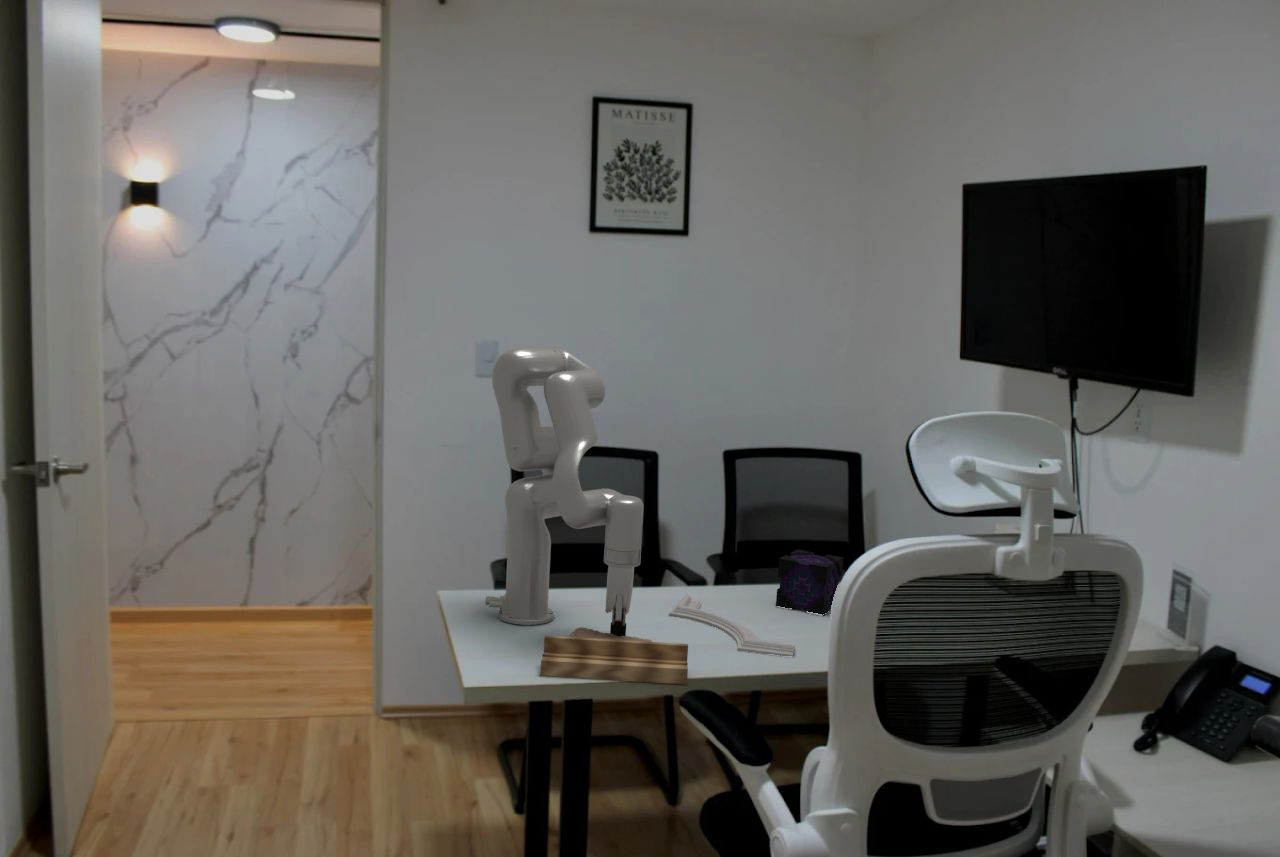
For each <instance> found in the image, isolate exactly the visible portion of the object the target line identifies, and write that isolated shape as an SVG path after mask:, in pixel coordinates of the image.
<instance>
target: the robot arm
mask: <svg viewBox="0 0 1280 857" xmlns="http://www.w3.org/2000/svg"><path fill="white" fill-rule="evenodd" d="M491 381H492V382H491V383H492V389H493V393H494V397H495V399H496V403H497V406H498V410H499V416H500V425H501V426H500V427H501V433H502V439H503V447H504V453H505V457H506V461H507V464H508V466H509V467H510V468H511V469H512V470H514V471H517V472H531V471H539V470H540V471H541V472H542V473H541V474H542V475H536V476H529V477H528V476H527V477H524V478H520V479H517V480H515V481H513V483H511V484H510V485H509V486H508V487H507V489H506V492H505V495H504V506H505V512H506V520H507V554H506V555H507V558H506V580H505V593H504V595H500V596H498V597H496V596H491V595H490V596H489V595H486V596H485V605H486V606H488V607H489V608H499V609H498V610H497V617H498V618H499V620H501V621H503V622H504V623H508V624H513V625H521V626H522V625H523V626H532V625H533V626H536V625H544V624H547V623H550V622H551V621H553V620H554V619H555V611H554V610H553V608H550V607H549V592H550V591H549V590H550V571H551V570H550V568H551V553H552V552H551V551H552V550H551V549H552V548H551V547H552V539H551V533H550V532H549V529H548V527H547V525H546V522H545V519H551V518H557V517H561V518H562V519H563V521H564V523H565V524H566V525H567V526H569V527H570V528H573V529H575V530H580V529H587V528H592V527H600V526H605V535H604V550H603V551H604V552H603V553H604V554H603V563H604V564H605V565H607V566H608V568H607V575H606V576H607V577H606V579H607V580H606V594H605V596H606V597H605V609H604V611H605V613H606V614H609V613H611V614H612V616H611V622H610V627H609V628H610V631H609V633H611V634H613V635H616V636H618V637H619V636H627V635H626V634H627V623H626V616H627V615H628V614H629V613H630V607H631V603H632V602H631V601H632V597H633V590H634V589H633V588H634V587H633V586H634V573H635V567H636V568H637V567H639V566H640V565H641V558H642V555H641V554H642V541H643V540H642V538H643V524H644V523H643V522H644V508H645V507H644V506H645V505H644V502H643V500H642V499H641V498H639V497H637V496H633V495H629V494H628V495H627V494H623V493H621V492H619V491H617V490H615V489H611V488H597V489H590V490H583V489H582V486H581V483H580V477H579V465H580V462H581V460H582V458H583V456H584V455H585V453H586V452H587V451H588V450H589V449H591V448H592V447H593V446H594V445H595V444H596V443H597V442H598V440H599V436H598V432H597V429H596V425H595V422H594V418H593V415H592V411H591V409H595V408H598V407H599V406H601V405H602V403H604V400H605V398H606V387H605V383H604V381H603V380H602V378H601V376H600V375H599V373H597V372H596V371H595V370H594V369H593V368H592V367H590V366H589V365H588V364H586V363H585V362H584V361H582V360H580V359H579V358H578V357H575V355H573V354H572V353H571V352H569V351H567V350H565V349H563V348H560V347H532V346H531V347H530V346H529V347H527V346H526V347H518V348H512V349H510V350H509V349H508V350H506V351H505V352H503V353H502V354H501V355H499V356H498V357H497V359H496V361H495V363H494V366H493V368H492V373H491ZM529 387H543V396H544V398H545V402H546V406H547V409H548V413H549V416H550V420H551V422H552V426H550V425H549V426H547V425H546V426H542V424H541V420H540V412H539V408H538V404H537V402H536V401H535V399H534V397H533V395H532V394H531V393H530V391H529V390H528V388H529Z"/></svg>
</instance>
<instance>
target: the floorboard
mask: <svg viewBox="0 0 1280 857" xmlns="http://www.w3.org/2000/svg"><path fill="white" fill-rule="evenodd" d="M688 652H689V644H688V643H677V642H675V643H674V642H663V641H662V642H658V641H652V642H646V641H630V640H613V639H597V638H580V637H569V636H562V635H561V636H560V635H559V636H558V635H546V634H545V635H544V640H543V653H542V657H541V660H540V676H542V677H544V676H545V677H559V678H561V677H562V678H574V679H577V678H578V679H589V680H591V679H594V680H605V681H606V680H609V681H610V680H611V681H626V682H637V683H638V682H640V683H641V682H642V683H653V684H654V683H658V684H672V685H673V684H676V685H688V674H689V672H688V670H689V667H688V665H689V664H688V656H689V655H688Z"/></svg>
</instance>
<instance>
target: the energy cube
mask: <svg viewBox="0 0 1280 857" xmlns="http://www.w3.org/2000/svg"><path fill="white" fill-rule="evenodd" d="M778 560H779V561H778V572H777V576H778V577H779V588H777V589H776V596H775V598H776V600H775V607H776V606H780V607H785V608H792V609H794V610H795V609H797V610H801V611H804V612H805V611H808V612H813V613H818V614H822V615H823V614H825V613H827V612H828V611H829V612H830V609H831V605H832V601H833V597H834V594H835V591H836V588H837V585H838V584H839V585H840V577H841V576H842V575H843V570H844V569H843V568H844V567H843V566H844V557H843V556H837V555H832V554H825V555H822V556H821V555H817V554H815V552H812V551H808V550H802V549H795V550H793V551H792V552H790V555H789V554H788V555H787V554H785V555H784V556H782V557H780V558H779V559H778ZM827 614H828V613H827Z"/></svg>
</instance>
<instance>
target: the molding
mask: <svg viewBox="0 0 1280 857" xmlns="http://www.w3.org/2000/svg"><path fill="white" fill-rule="evenodd" d="M701 606H702V602H701V601H700V600H697V601H696V600H694V601H693V600H692V597H691V595H690V594H687V593H686V594H685V595H684V596H683V597H682V598H680V599H678V600H677V602H676V604H674V606H673V607H672V609H671V610H670V611H669V614H668V617H674V618H678V617H679V618H680V619H684V618H685V619H684V620H689V619H690V620H689V621H694V622H697V623H701V624H704V625H707V626H709V627H712V626H713V627H712V628H715V627H716V628H715V629H717V628H718V629H717V630H719V629H720V630H719V631H721V630H722V631H721V632H723V631H724V632H723V633H725V634H727V635H728V636H730V637H731V638H732V639H733V640H734V641H736V642H735V643H736V645H737V650H736V651H737V652H742V651H748V652H747V653H750V652H756V653H755V654H758V653H765V654H774V655H782V656H793V657H794V655H793V654H795V652H796V646H795V645H796V644H793V643H792V644H791V643H785V642H784V643H782V642H776V641H768V640H761V639H760V638H759V636H758V635H756V634H755V633H754V632H753V631H752V630H750V629H749V628H747V627H745V626H744V625H742V624H739V623H738V622H736V621H733V620H730V619H729V618H728V617H727V618H726V617H724V616H722V615H719V614H717V613H714V612H710V611H707V610H703V609H700V608H701ZM794 651H795V652H794ZM765 654H764V655H765Z"/></svg>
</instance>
